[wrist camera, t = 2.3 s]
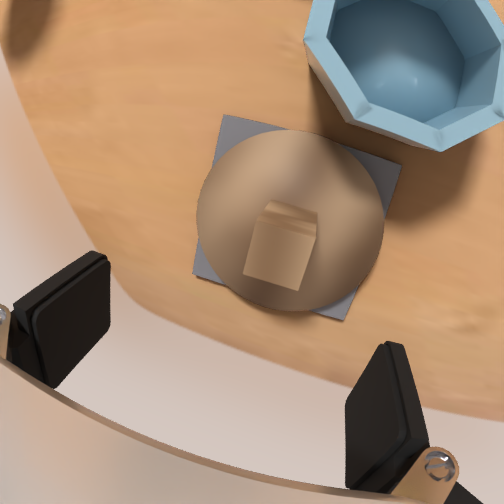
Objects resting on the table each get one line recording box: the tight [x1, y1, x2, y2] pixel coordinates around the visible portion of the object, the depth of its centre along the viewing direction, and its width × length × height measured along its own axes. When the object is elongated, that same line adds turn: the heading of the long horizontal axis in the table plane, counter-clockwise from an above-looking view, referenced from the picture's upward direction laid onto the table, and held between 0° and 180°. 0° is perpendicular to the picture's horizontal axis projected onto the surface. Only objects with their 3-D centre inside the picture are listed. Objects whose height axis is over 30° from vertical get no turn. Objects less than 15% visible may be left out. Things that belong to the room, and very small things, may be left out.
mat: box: [192, 115, 402, 320], centre depth 22 cm, size 12×12×1 cm
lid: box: [197, 130, 384, 311], centre depth 19 cm, size 12×12×6 cm
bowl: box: [303, 0, 504, 152], centre depth 14 cm, size 11×11×6 cm
